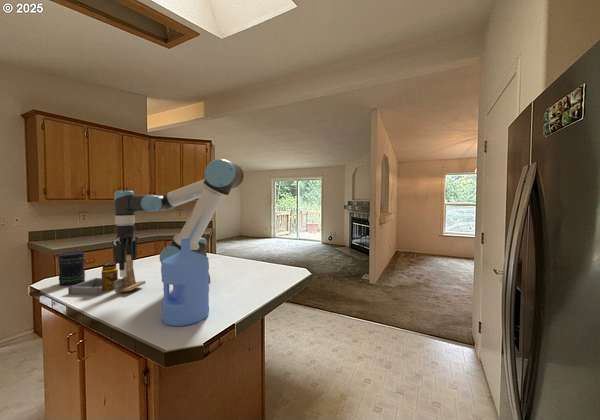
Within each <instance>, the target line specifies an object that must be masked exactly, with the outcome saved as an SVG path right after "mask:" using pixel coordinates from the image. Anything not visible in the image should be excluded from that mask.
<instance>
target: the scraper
mask: <svg viewBox="0 0 600 420" xmlns="http://www.w3.org/2000/svg"><path fill="white" fill-rule="evenodd" d="M125 262H127V277H120V278H118V279H119V280H116V281H114V287H115V291H114V292H115V293H116V294H117V293H122V292H130V291H133V290H134V289H136V288H139V287H141V286H143V285H145V284H146V280H141V281H136V276H135V271H134V264H133V265H132V259H131V254H128V255H127V254H126V257H125Z"/></svg>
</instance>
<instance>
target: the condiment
mask: <svg viewBox="0 0 600 420" xmlns="http://www.w3.org/2000/svg"><path fill="white" fill-rule="evenodd" d="M117 267H118V266H117V262H106V263H103V264H102V270H101V278H102V285H101V286H99V287H100V293H101V292H113V291H114V292H115V287H114V281H116V280H118V279H119V278H118V277H119V275H118V273H119V272H118V270H119V269H118V268H117Z"/></svg>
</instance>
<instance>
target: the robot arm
mask: <svg viewBox="0 0 600 420" xmlns="http://www.w3.org/2000/svg"><path fill="white" fill-rule="evenodd" d="M204 175H205V178H203V179H201V180H198V181H196V182H192V183H190V184H188V185H185V186H182V187H180V188H177V189H174V190H171V191H169V192H167V193H164V194H161V195H155V194H135V192H134V191H133V190H116V191H115V192H114V197H113V198H114V199H113V202H114V223H115V226H114V228H115V229H114V230H115V231H114V233H115V234H116V239H115V240H112V241H111V245H112V247H113V248H112V249H113V257H114V263H116V264H118V268H119V269H118V270H119V277H120V278H123V277H127V262H125V257H126V255H128V254H131V259H132V265H133V266H134V261H135V260H136V258H137V257H138V255H137V253H138V240H139V237H138V236H135V235H134V233H136V225H135V223H136V217H135V215H136V213H135V212H142V213H144V212H146V213H147V212H148V213H154V212H160V211H161V212H165V211H170V210H172V209H174V208H176V207H178V206H180V205H183V204H186V203H188V202H191V201H195V200H197V201H196V202H195V205H194V207H193V209H192V210H191V213H190V214H189V215H188V218H187V219H186V222H185V224H184V225H183V227H182V229H181V231H180V233H179V234H177V235H174V236H173V237H172V240H171V241H170V243H169V245H167V246H165V247H164V248H163V249H162V250H161V251H160V253H159V262H160V265H161V266H162V264H161V263H162V261H163V260H164V259H166V258H168V257H170V256H172V255H174V254H176V253H178V252H180V250H181V239H190V249H191V251H194V252H196V253H199V254H202V255H204V256H207V250H208V249H207V248H208V243H207V239H206V238H205V237H202V236H203V234H204V232H205V231H206V229H207V228H208V225H209V223H210V221H211V220H212V218H213V216H214V215H215V213H216V210H217V209H218V207H219V205H220V203H221V201H222V200H223V198H224V197H227V196H229V194H230V193H231V190H232V189H234V188H238V187H239V186H240V185H241V184H242V183H243V182H244V178H245V176H244V171H243V169H242V168H241V166H240V165H238V164H237V163H234V162H232V161H230V160H227V159H224V158H223V159H222V158H218V159H213V160H212V161H210V162H209V163H208V164H207V165H206V167H205V170H204ZM207 257H208V256H207ZM210 283H211V275H210V274H209V284H210Z"/></svg>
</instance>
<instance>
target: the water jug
mask: <svg viewBox="0 0 600 420" xmlns="http://www.w3.org/2000/svg"><path fill="white" fill-rule="evenodd" d="M209 263H210V261H209V257H208V256H204V255H202V254H199V253H196V252H194V251H191V249H190V239H181V250H180V252H178V253H176V254H174V255H172V256H170V257H168V258H166V259H164V260H163V261H162V263H161V262H160V265H161V264H162V265H161V267H160V272H161V282H162V284H163V298H162V300H161V321H162V323H164V324H165V325H167V326H171V327H185V326H189V325H190V326H191V325H194V324H196V323H197V324H198V322H201V321H203V320H205V318H207V317H208V315H209V314H210V305H209V304H210V303H209V301H210V299H209V298H210V297H209V294H210V283H209V275H210V272H209V270H210V264H209ZM170 285H171V286H172V292H171V293H170Z"/></svg>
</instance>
